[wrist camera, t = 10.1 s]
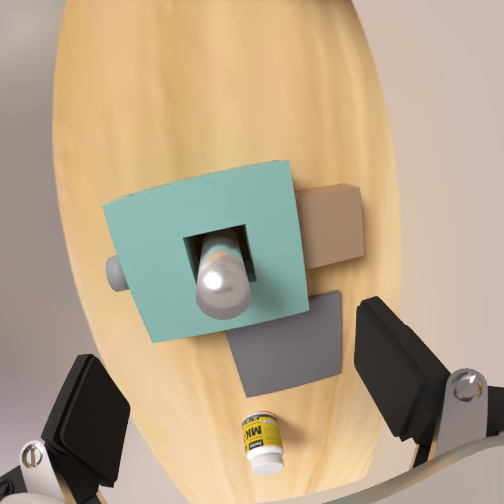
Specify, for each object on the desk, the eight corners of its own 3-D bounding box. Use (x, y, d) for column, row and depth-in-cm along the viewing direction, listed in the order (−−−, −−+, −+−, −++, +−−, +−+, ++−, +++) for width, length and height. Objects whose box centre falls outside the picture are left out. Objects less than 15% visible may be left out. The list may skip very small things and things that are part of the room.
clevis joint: (339, 151, 23) (364, 151, 18) (351, 272, 27) (372, 292, 23) (102, 202, 22) (80, 212, 17) (142, 318, 26) (132, 345, 21)
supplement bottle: (255, 406, 32) (265, 459, 24) (282, 415, 33) (295, 463, 25) (235, 424, 33) (240, 473, 25) (261, 431, 34) (271, 477, 26)
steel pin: (221, 217, 23) (224, 259, 14) (244, 242, 24) (262, 297, 15) (196, 240, 24) (184, 295, 14) (219, 264, 25) (222, 328, 15)
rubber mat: (337, 290, 27) (340, 292, 27) (339, 370, 31) (340, 373, 31) (222, 318, 27) (222, 321, 26) (246, 394, 31) (246, 397, 30)
